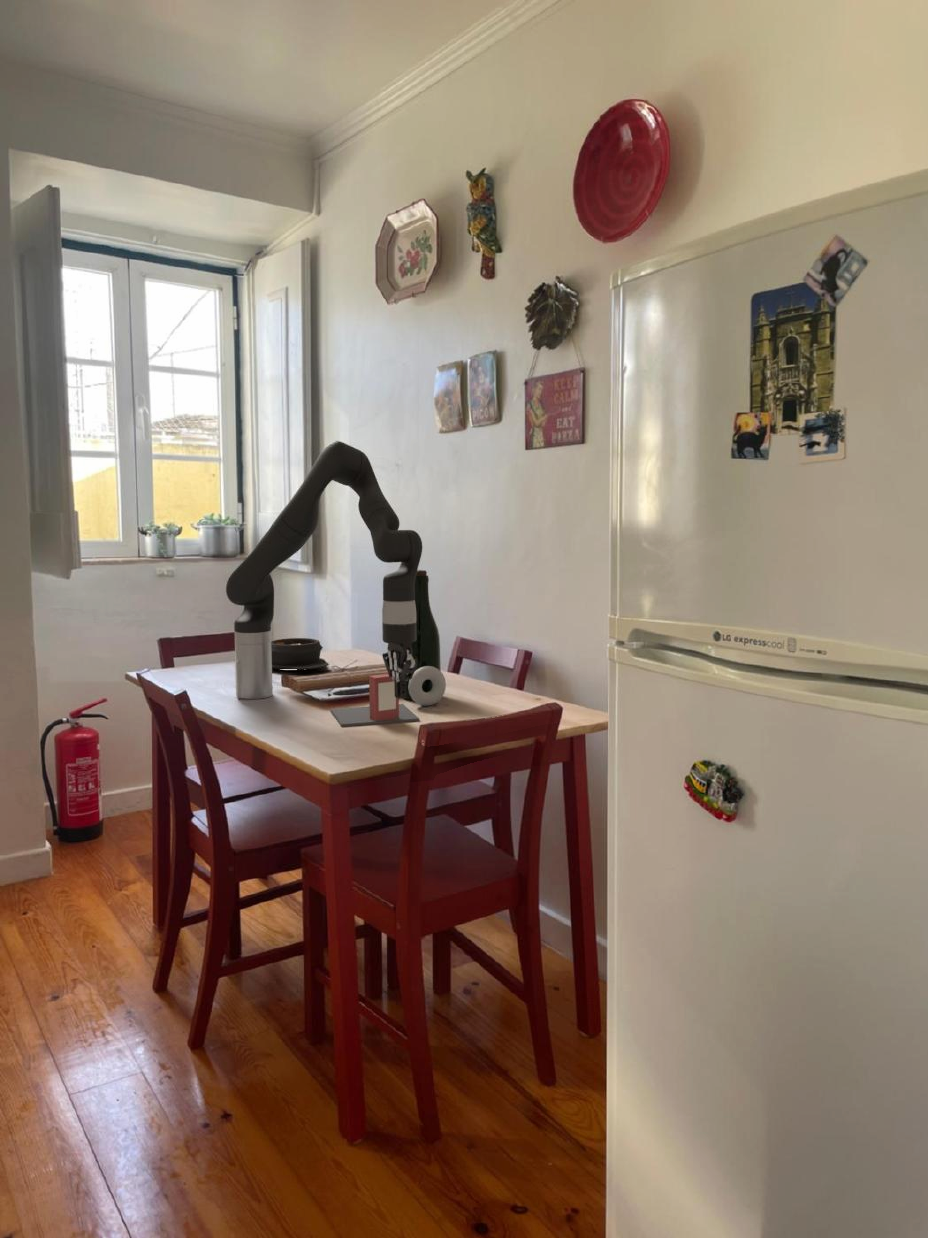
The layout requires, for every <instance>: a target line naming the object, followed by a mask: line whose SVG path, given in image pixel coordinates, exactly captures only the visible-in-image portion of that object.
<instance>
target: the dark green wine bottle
mask: <svg viewBox="0 0 928 1238" xmlns="http://www.w3.org/2000/svg"><path fill="white" fill-rule="evenodd" d="M427 574H428V572H427V570H426V569H425V570H423V569H418V570H417V574H416V579H415V606H416V638H417V639H416V641H415V642H412V644H411V648H412V657H413V659H417V660H418V665H417V667H416V670H418V669H419V668H421V667H424V666H433V667H435V668H437V669H439V670H440V671H441V672H442V665H441V664H442V663H441V662H442V660H441V659H442V658H441V657H442V656H441V638H440V636H441V635H440V633H439V628H438V625H437V623H436V620H435V617H434V614H433V612H432V608H431V604H430V603H431V601H430V594H429V581H430V578H429V575H427ZM416 670H415V671H416ZM409 680H410V679H409ZM409 680H408V681H406V697H405V698H404V699H405V700H408V701H414V700H413V699H412V698H411V696H410V694H409V689H408V686H409ZM432 687H433V683H432V681H431V680H429V679H427V680H425V681H424V682H423V684H422V690H423V691H424V692H426V693H427V692H429V691H431V689H432Z"/></svg>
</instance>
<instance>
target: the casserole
mask: <svg viewBox="0 0 928 1238" xmlns="http://www.w3.org/2000/svg"><path fill="white" fill-rule="evenodd" d="M271 650H272V668H274V669H275V668H276V669H275V670H277V669H297V670H304V669H309V670H314V669H321V668H325V667H328V666H329V665H330V664H329V662H327V661H326V659H324V658H321V651H322V650H323V646H322V645H321V642H320V640H318V639H315V638H310V637H309V638H307V637H306V638H305V637H291V638H281V639H274V640H271ZM304 671H305V670H304Z"/></svg>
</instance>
